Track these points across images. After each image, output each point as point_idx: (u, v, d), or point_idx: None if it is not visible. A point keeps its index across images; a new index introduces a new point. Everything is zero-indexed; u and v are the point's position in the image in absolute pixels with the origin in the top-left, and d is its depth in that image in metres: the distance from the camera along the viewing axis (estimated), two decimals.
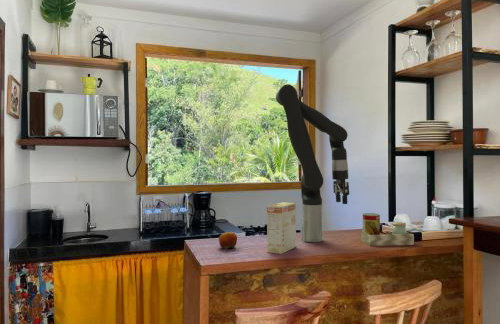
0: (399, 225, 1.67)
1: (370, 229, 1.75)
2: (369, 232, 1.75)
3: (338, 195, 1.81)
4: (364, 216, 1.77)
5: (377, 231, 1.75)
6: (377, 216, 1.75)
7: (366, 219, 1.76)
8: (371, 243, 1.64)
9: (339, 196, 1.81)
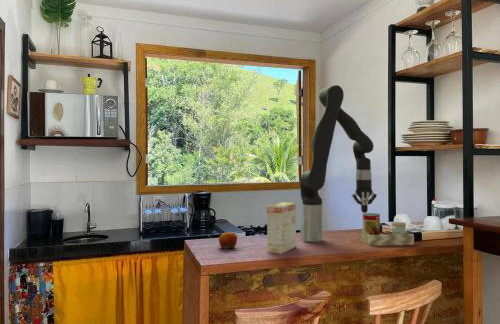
0: (399, 225, 1.67)
1: (370, 229, 1.75)
2: (369, 232, 1.75)
3: None
4: (364, 216, 1.77)
5: (377, 231, 1.75)
6: (377, 216, 1.75)
7: (366, 219, 1.76)
8: (371, 243, 1.64)
9: None
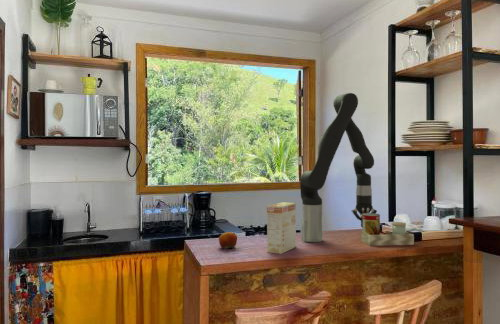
0: (399, 225, 1.67)
1: (370, 229, 1.75)
2: (369, 232, 1.75)
3: None
4: (364, 216, 1.77)
5: (377, 231, 1.75)
6: (377, 216, 1.75)
7: (366, 219, 1.76)
8: (371, 243, 1.64)
9: None
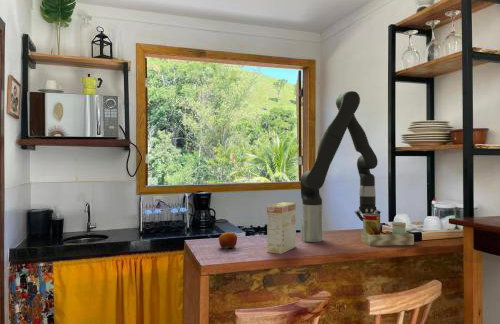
0: (399, 225, 1.67)
1: (370, 229, 1.74)
2: (369, 232, 1.74)
3: None
4: (364, 216, 1.77)
5: (378, 231, 1.74)
6: (377, 216, 1.74)
7: (366, 219, 1.76)
8: (371, 243, 1.64)
9: None
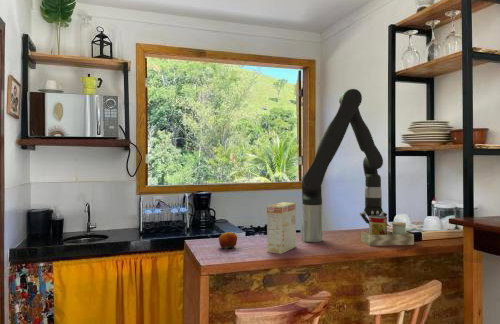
0: (399, 225, 1.67)
1: (377, 232, 1.67)
2: None
3: None
4: (371, 218, 1.69)
5: (385, 234, 1.67)
6: (384, 218, 1.67)
7: (373, 222, 1.68)
8: (371, 243, 1.64)
9: None
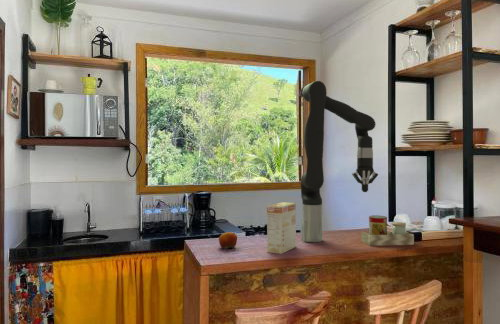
0: (399, 225, 1.67)
1: (377, 232, 1.67)
2: None
3: None
4: (371, 218, 1.69)
5: (385, 234, 1.67)
6: (384, 218, 1.67)
7: (373, 222, 1.68)
8: (371, 243, 1.64)
9: None
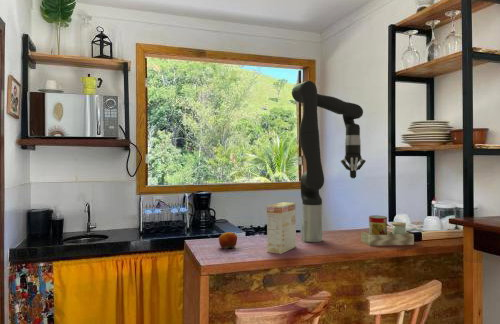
0: (399, 225, 1.67)
1: (377, 232, 1.67)
2: None
3: None
4: (371, 218, 1.69)
5: (385, 234, 1.67)
6: (384, 218, 1.67)
7: (373, 222, 1.68)
8: (371, 243, 1.64)
9: None
